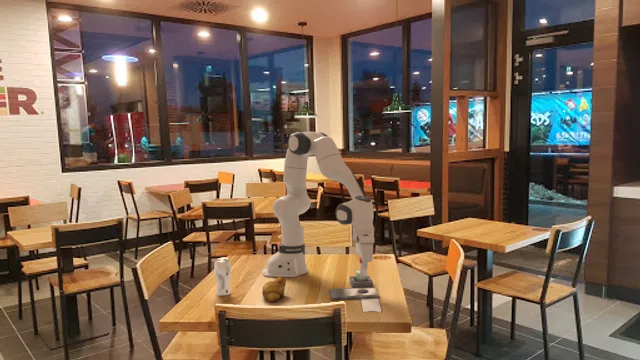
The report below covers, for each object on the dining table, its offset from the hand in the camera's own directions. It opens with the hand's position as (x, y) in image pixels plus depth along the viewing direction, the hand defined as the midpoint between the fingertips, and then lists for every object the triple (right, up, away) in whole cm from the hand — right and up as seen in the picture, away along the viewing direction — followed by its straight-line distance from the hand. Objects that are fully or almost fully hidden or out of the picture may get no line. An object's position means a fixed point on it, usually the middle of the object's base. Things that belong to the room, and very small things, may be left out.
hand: (363, 266), depth 193 cm
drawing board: (-4, -12, +1) cm, 13 cm away
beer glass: (-61, -13, +4) cm, 62 cm away
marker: (0, -4, 0) cm, 4 cm away
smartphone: (+2, -14, -10) cm, 17 cm away
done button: (0, -8, +12) cm, 15 cm away
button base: (0, -11, +12) cm, 16 cm away
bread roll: (-38, -13, -1) cm, 41 cm away
